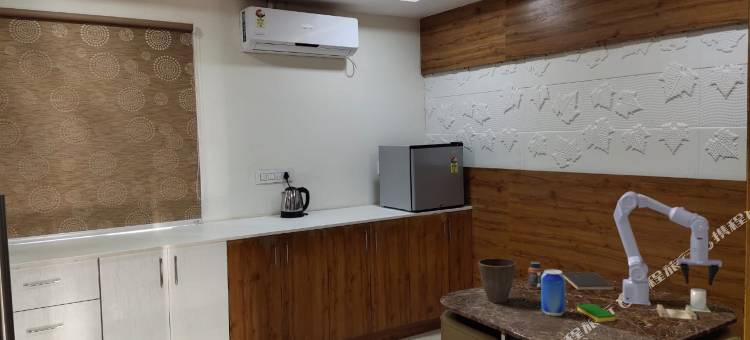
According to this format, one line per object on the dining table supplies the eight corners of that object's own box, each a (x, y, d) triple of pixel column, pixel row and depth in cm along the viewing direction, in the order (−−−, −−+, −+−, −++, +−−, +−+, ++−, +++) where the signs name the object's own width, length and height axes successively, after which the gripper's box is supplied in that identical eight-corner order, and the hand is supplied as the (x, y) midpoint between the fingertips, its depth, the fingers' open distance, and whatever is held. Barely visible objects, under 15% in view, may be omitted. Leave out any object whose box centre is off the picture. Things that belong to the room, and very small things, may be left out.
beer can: (564, 310, 204) (564, 269, 203) (565, 317, 196) (565, 274, 195) (541, 308, 206) (541, 268, 205) (541, 315, 198) (541, 273, 197)
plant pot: (475, 303, 214) (475, 264, 213) (482, 293, 227) (482, 256, 227) (513, 307, 208) (513, 267, 207) (518, 297, 222) (518, 259, 221)
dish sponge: (593, 309, 205) (593, 303, 205) (615, 321, 192) (615, 315, 192) (576, 311, 204) (576, 304, 204) (597, 323, 190) (597, 316, 190)
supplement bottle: (543, 290, 231) (543, 264, 231) (529, 289, 232) (528, 264, 232) (541, 286, 237) (541, 261, 236) (527, 285, 238) (527, 260, 238)
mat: (689, 311, 199) (689, 310, 199) (685, 306, 206) (685, 304, 206) (711, 313, 197) (711, 312, 197) (706, 307, 204) (706, 306, 204)
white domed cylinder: (691, 309, 200) (692, 291, 200) (688, 304, 206) (688, 286, 206) (707, 311, 198) (707, 292, 198) (703, 305, 204) (703, 288, 204)
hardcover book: (576, 291, 231) (576, 285, 230) (561, 277, 253) (561, 272, 253) (614, 290, 230) (614, 285, 229) (596, 277, 252) (596, 272, 252)
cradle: (660, 317, 193) (660, 312, 193) (655, 309, 203) (655, 304, 203) (697, 321, 189) (698, 315, 189) (691, 312, 199) (691, 307, 199)
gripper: (679, 249, 199) (678, 285, 200) (724, 251, 194) (723, 288, 195) (675, 246, 205) (675, 280, 206) (719, 247, 201) (718, 283, 201)
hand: (698, 284), depth 201 cm, fingers open, 7 cm apart
